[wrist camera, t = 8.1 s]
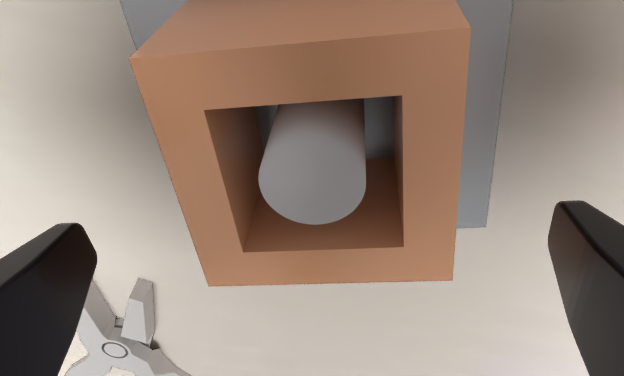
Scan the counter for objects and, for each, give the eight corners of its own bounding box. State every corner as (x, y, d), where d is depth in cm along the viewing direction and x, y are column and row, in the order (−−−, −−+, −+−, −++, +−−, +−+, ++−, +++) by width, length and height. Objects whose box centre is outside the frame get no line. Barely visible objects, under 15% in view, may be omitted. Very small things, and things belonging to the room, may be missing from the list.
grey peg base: (476, 199, 17) (517, 324, 13) (210, 211, 19) (164, 329, 14) (510, -129, 12) (605, -107, 7) (120, -79, 13) (-4, -32, 8)
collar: (432, 187, 15) (452, 280, 12) (238, 196, 16) (208, 286, 13) (439, -26, 12) (470, 27, 8) (187, 0, 13) (127, 58, 9)
